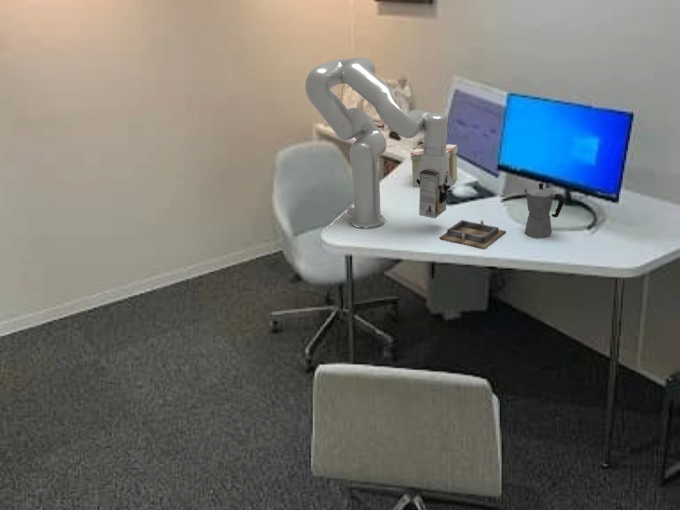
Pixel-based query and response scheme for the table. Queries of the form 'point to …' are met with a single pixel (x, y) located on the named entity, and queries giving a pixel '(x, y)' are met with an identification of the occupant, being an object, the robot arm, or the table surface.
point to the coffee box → (430, 195)
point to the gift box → (452, 158)
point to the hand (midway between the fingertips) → (433, 199)
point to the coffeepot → (541, 211)
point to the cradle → (472, 234)
